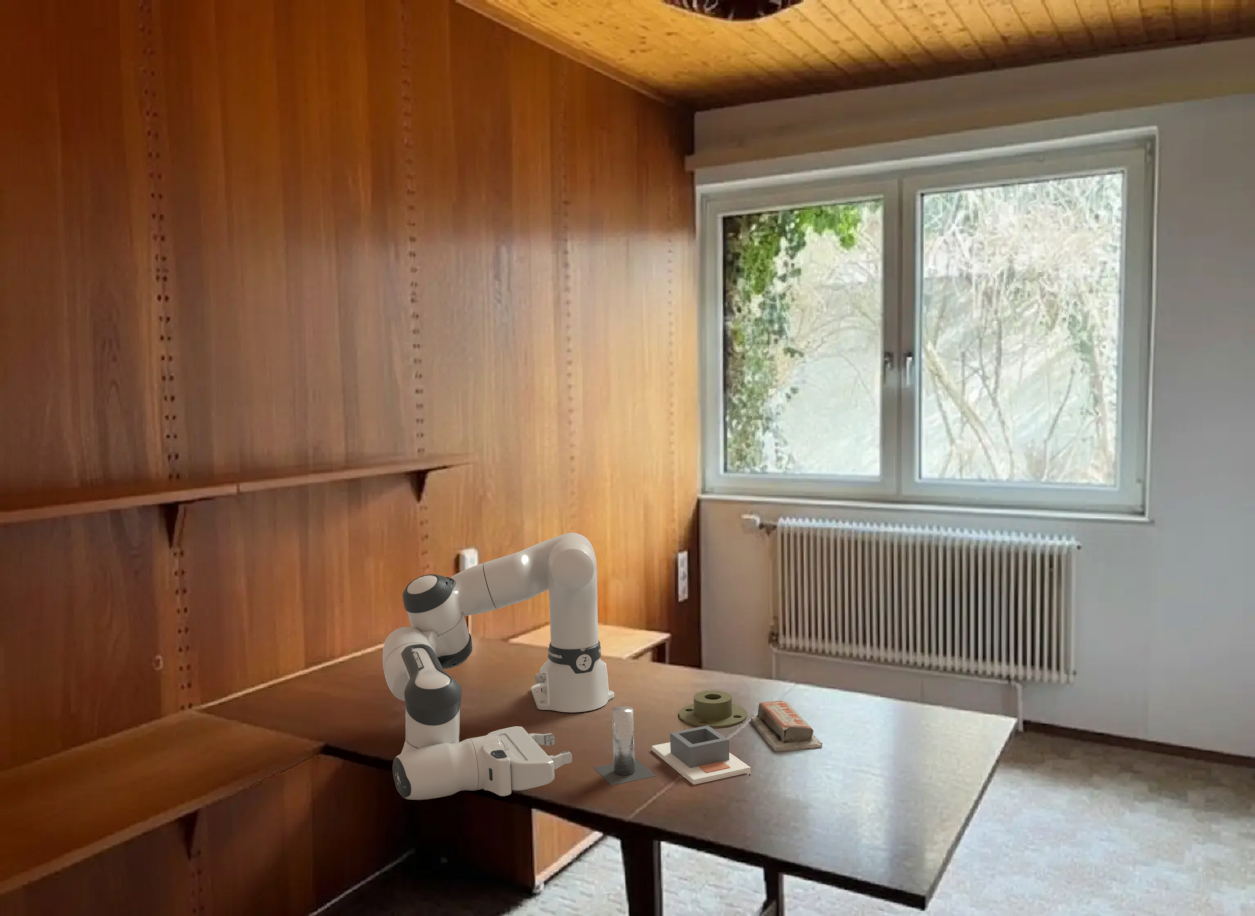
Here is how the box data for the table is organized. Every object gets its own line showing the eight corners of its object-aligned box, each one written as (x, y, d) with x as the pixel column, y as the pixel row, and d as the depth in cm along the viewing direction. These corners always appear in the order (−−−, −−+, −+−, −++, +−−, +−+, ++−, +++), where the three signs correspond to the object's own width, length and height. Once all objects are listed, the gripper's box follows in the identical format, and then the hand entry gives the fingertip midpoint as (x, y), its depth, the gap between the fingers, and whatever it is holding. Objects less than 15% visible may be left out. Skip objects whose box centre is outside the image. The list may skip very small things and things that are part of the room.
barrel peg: (610, 769, 179) (608, 708, 178) (629, 765, 180) (628, 704, 180) (618, 777, 175) (617, 714, 174) (638, 773, 177) (636, 711, 176)
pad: (593, 770, 180) (593, 767, 180) (636, 761, 184) (636, 758, 184) (611, 788, 172) (611, 785, 172) (656, 779, 176) (656, 775, 176)
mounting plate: (651, 753, 188) (651, 726, 187) (705, 742, 193) (704, 716, 192) (693, 787, 171) (693, 758, 171) (750, 775, 176) (750, 746, 176)
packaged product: (748, 700, 204) (792, 697, 206) (749, 722, 205) (793, 718, 206) (775, 730, 186) (823, 726, 188) (775, 754, 187) (823, 750, 188)
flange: (693, 682, 218) (668, 703, 204) (755, 690, 211) (734, 712, 198) (693, 702, 218) (668, 724, 205) (756, 710, 212) (734, 733, 198)
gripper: (474, 757, 177) (544, 744, 182) (504, 800, 158) (581, 784, 163) (473, 725, 176) (543, 712, 182) (503, 764, 157) (580, 749, 163)
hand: (562, 747), depth 172 cm, fingers open, 8 cm apart
